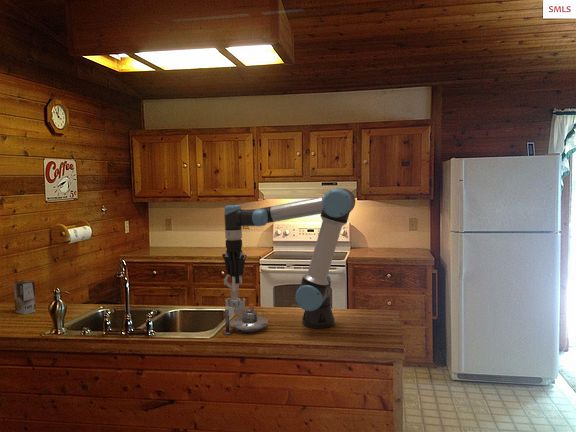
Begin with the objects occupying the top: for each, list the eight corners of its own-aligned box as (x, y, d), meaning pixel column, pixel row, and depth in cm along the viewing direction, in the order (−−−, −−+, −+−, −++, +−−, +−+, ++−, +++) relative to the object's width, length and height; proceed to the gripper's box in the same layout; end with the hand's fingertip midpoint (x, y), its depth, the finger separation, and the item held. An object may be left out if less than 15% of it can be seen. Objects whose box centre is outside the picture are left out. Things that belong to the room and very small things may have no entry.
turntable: (275, 322, 215) (275, 306, 215) (251, 332, 201) (251, 314, 201) (246, 317, 225) (246, 301, 225) (222, 326, 211) (221, 309, 211)
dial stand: (225, 335, 205) (225, 309, 204) (221, 333, 208) (220, 307, 207) (234, 333, 207) (234, 307, 206) (230, 331, 210) (229, 306, 210)
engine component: (243, 314, 239) (246, 309, 249) (242, 274, 238) (246, 270, 248) (222, 314, 240) (226, 309, 250) (221, 274, 239) (225, 270, 249)
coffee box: (36, 311, 250) (35, 281, 249) (24, 314, 244) (22, 283, 243) (27, 309, 255) (25, 280, 254) (14, 312, 249) (13, 282, 248)
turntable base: (267, 328, 215) (267, 323, 215) (251, 335, 205) (251, 330, 205) (247, 324, 222) (247, 320, 222) (230, 330, 212) (230, 326, 212)
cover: (260, 319, 214) (260, 308, 214) (251, 323, 208) (251, 312, 208) (247, 318, 218) (247, 306, 218) (238, 321, 212) (238, 310, 212)
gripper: (217, 239, 216) (219, 290, 217) (239, 240, 209) (241, 293, 210) (228, 237, 222) (230, 287, 224) (250, 238, 215) (251, 290, 216)
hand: (235, 290), depth 217 cm, fingers closed
